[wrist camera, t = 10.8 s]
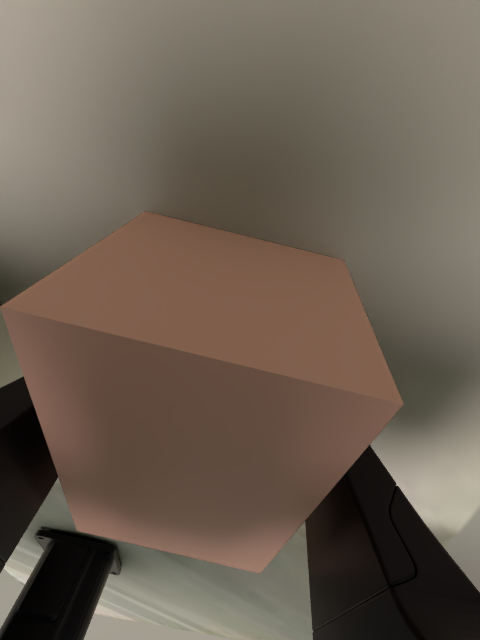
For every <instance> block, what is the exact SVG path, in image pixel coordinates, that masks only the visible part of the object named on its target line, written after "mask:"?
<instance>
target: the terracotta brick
mask: <svg viewBox="0 0 480 640" xmlns="http://www.w3.org/2000/svg"><path fill="white" fill-rule="evenodd" d="M0 309H1V312H2V315H3V318H4V321H5V324H6V326H7V329H8V332H9V335H10V338H11V341H12V344H13V347H14V350H15V353H16V355H17V358H18V361H19V364H20V367H21V370H22V373H23V376H24V379H25V381H26V384H27V387H28V390H29V393H30V396H31V399H32V402H33V405H34V408H35V410H36V413H37V416H38V419H39V422H40V425H41V428H42V431H43V434H44V436H45V439H46V442H47V445H48V448H49V451H50V454H51V457H52V460H53V463H54V465H55V468H56V471H57V474H58V477H59V480H60V483H61V486H62V489H63V491H64V494H65V497H66V500H67V503H68V506H69V509H70V512H71V515H72V518H73V520H74V523H75V526H76V529H77V531H80V532H84V533H88V534H93V535H97V536H101V537H106V538H110V539H114V540H119V541H123V542H127V543H131V544H136V545H140V546H144V547H149V548H153V549H157V550H161V551H166V552H170V553H174V554H179V555H183V556H187V557H192V558H196V559H200V560H204V561H209V562H213V563H217V564H222V565H226V566H230V567H235V568H239V569H243V570H247V571H252V572H256V573H261V572H262V571H263V570H264V568H265V567H266V566H267V565H268V564H269V563H270V561H271V560H272V559H273V558H274V557H275V555H276V554H277V553H278V552H279V551H280V550H281V548H282V547H283V546H284V545H285V544H286V543H287V541H288V540H289V539H290V538H291V537H292V535H293V534H294V533H295V532H296V531H297V530H298V528H299V527H300V526H301V525H302V524H303V523H304V521H305V520H306V519H307V518H308V517H309V515H310V514H311V513H312V512H313V511H314V510H315V508H316V507H317V506H318V505H319V504H320V503H321V501H322V500H323V499H324V498H325V497H326V495H327V494H328V493H329V492H330V491H331V490H332V488H333V487H334V486H335V485H336V484H337V482H338V481H339V480H340V479H341V478H342V477H343V475H344V474H345V473H346V472H347V471H348V470H349V468H350V467H351V466H352V465H353V464H354V462H355V461H356V460H357V459H358V458H359V457H360V455H361V454H362V453H363V452H364V451H365V450H366V448H367V447H368V446H369V445H370V444H371V442H372V441H373V440H374V439H375V438H376V437H377V435H378V434H379V433H380V432H381V431H382V430H383V428H384V427H385V426H386V425H387V424H388V422H389V421H390V420H391V419H392V418H393V417H394V415H395V414H396V413H397V412H398V411H399V410H400V408H401V407H402V406H403V405H404V404H403V401H402V399H401V396H400V394H399V392H398V389H397V387H396V384H395V382H394V380H393V377H392V375H391V372H390V370H389V368H388V365H387V363H386V360H385V358H384V356H383V353H382V351H381V348H380V346H379V343H378V341H377V339H376V336H375V334H374V331H373V329H372V327H371V324H370V322H369V319H368V317H367V315H366V312H365V310H364V307H363V305H362V303H361V300H360V298H359V295H358V293H357V291H356V288H355V286H354V283H353V281H352V279H351V276H350V274H349V271H348V269H347V267H346V264H345V262H344V260H341V259H337V258H333V257H328V256H324V255H320V254H316V253H312V252H308V251H304V250H300V249H296V248H292V247H288V246H284V245H280V244H276V243H272V242H268V241H264V240H260V239H256V238H252V237H248V236H244V235H240V234H235V233H231V232H227V231H223V230H219V229H215V228H211V227H207V226H203V225H199V224H195V223H191V222H187V221H183V220H179V219H175V218H171V217H167V216H163V215H159V214H155V213H151V212H147V211H145V212H144V213H142V214H140V215H139V216H137V217H136V218H134V219H133V220H131V221H130V222H128V223H127V224H125V225H124V226H122V227H121V228H119V229H118V230H116V231H115V232H113V233H112V234H110V235H108V236H107V237H105V238H104V239H102V240H101V241H99V242H98V243H96V244H95V245H93V246H92V247H90V248H89V249H87V250H86V251H84V252H83V253H81V254H79V255H78V256H76V257H75V258H73V259H72V260H70V261H69V262H67V263H66V264H64V265H63V266H61V267H60V268H58V269H57V270H55V271H54V272H52V273H51V274H49V275H47V276H46V277H44V278H43V279H41V280H40V281H38V282H37V283H35V284H34V285H32V286H31V287H29V288H28V289H26V290H25V291H23V292H22V293H20V294H19V295H17V296H15V297H14V298H12V299H11V300H9V301H8V302H6V303H5V304H3V305H2V306H0Z"/></svg>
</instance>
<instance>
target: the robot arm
mask: <svg viewBox="0 0 480 640" xmlns="http://www.w3.org/2000/svg"><path fill="white" fill-rule="evenodd" d="M57 478H58V474H57V471H56V468H55V465H54V463H53V460H52V457H51V454H50V451H49V448H48V445H47V442H46V439H45V436H44V434H43V431H42V428H41V425H40V422H39V419H38V416H37V413H36V410H35V408H34V405H33V402H32V399H31V396H30V393H29V390H28V387H27V384H26V381H25V379H24V376H23V377H21V378H19V379H17V380H15V381H13V382H11V383H9V384H7V385H5V386H3V387H1V388H0V573H1V571H2V569H3V568H4V566H5V563H6V562H7V561H8V559H9V557H10V556H11V554H12V552H13V551H14V549H15V547H16V546H17V544H18V543H19V541H20V539H21V538H22V536H23V534H24V533H25V531H26V529H27V528H28V526H29V524H30V523H31V521H32V519H33V518H34V516H35V515H36V513H37V511H38V510H39V508H40V506H41V505H42V503H43V501H44V500H45V498H46V496H47V495H48V493H49V491H50V490H51V488H52V486H53V485H54V483H55V482H56V480H57ZM305 523H306V539H307V554H308V569H309V584H310V599H311V615H312V629H313V631H314V632H313V640H480V592H479V591H478V590H477V589H476V587H475V586H474V585H473V584H472V582H471V581H470V580H469V579H468V577H467V576H466V575H465V574H464V572H463V571H462V570H461V569H460V567H459V566H458V565H457V564H456V562H455V561H454V560H453V559H452V558H451V556H450V555H449V554H448V552H447V551H446V550H445V549H444V547H443V546H442V545H441V544H440V542H439V541H438V540H437V538H436V537H435V536H434V535H433V533H432V532H431V531H430V529H429V528H428V527H427V526H426V524H425V523H424V522H423V520H422V519H421V517H420V516H419V515H418V513H417V512H416V511H415V509H414V508H413V506H412V505H411V504H410V502H409V501H408V499H407V498H406V497H405V495H404V494H403V492H402V491H401V489H400V488H399V487H398V486H396V482H395V481H394V479H393V478H392V476H391V475H390V474H389V472H388V471H387V469H386V468H385V466H384V465H383V463H382V462H381V461H380V459H379V458H378V456H377V455H376V453H375V452H374V451H373V449H372V448H371V446H370V445H369V446H368V447H367V448H366V450H365V451H364V452H363V453H362V454H361V455H360V457H359V458H358V459H357V460H356V461H355V462H354V464H353V465H352V466H351V467H350V468H349V470H348V471H347V472H346V473H345V474H344V475H343V477H342V478H341V479H340V480H339V481H338V482H337V484H336V485H335V486H334V487H333V488H332V490H331V491H330V492H329V493H328V494H327V495H326V497H325V498H324V499H323V500H322V501H321V503H320V504H319V505H318V506H317V507H316V508H315V510H314V511H313V512H312V513H311V514H310V515H309V517H308V518H307V519H306V520H305ZM35 538H36V539H37V541H38V542H39V544H40V545H41V547H42V548H43V550H44V552H43V554H42V555H41V557H40V559H39V561H38V563H37V564H36V566H35V568H34V570H33V572H32V573H31V575H30V577H29V579H28V580H27V582H26V584H25V586H24V588H23V589H22V591H21V593H20V595H19V597H18V599H17V600H16V602H15V604H14V605H13V607H12V609H11V611H10V613H9V614H8V616H7V618H6V620H5V622H4V624H3V625H2V627H1V629H0V640H84V637H85V634H86V632H87V629H88V627H89V624H90V621H91V619H92V616H93V614H94V611H95V609H96V606H97V604H98V601H99V598H100V596H101V593H102V591H103V588H104V586H105V583H106V580H107V578H108V575H109V574H113V575H119V574H120V571H121V565H120V561H119V557H118V553H117V550H116V547H114V546H112V545H109V544H104V543H99V542H95V541H90V540H86V539H81V538H77V537H72V536H68V535H63V534H59V533H54V532H49V531H45V530H38V531H37V533H36V535H35Z"/></svg>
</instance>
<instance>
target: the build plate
mask: <svg viewBox="0 0 480 640" xmlns="http://www.w3.org/2000/svg"><path fill="white" fill-rule="evenodd" d="M21 377H23V373H22V370H21V367H20V364H19V361H18V358H17V355H16V353H15V350H14V347H13V344H12V341H11V338H10V335H9V332H8V329H7V326H6V324H5V321H4V318H3V315H2V312H1V309H0V388H1V387H3V386H5V385H7V384H9V383H11V382H13V381H15V380H17V379H19V378H21Z"/></svg>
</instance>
